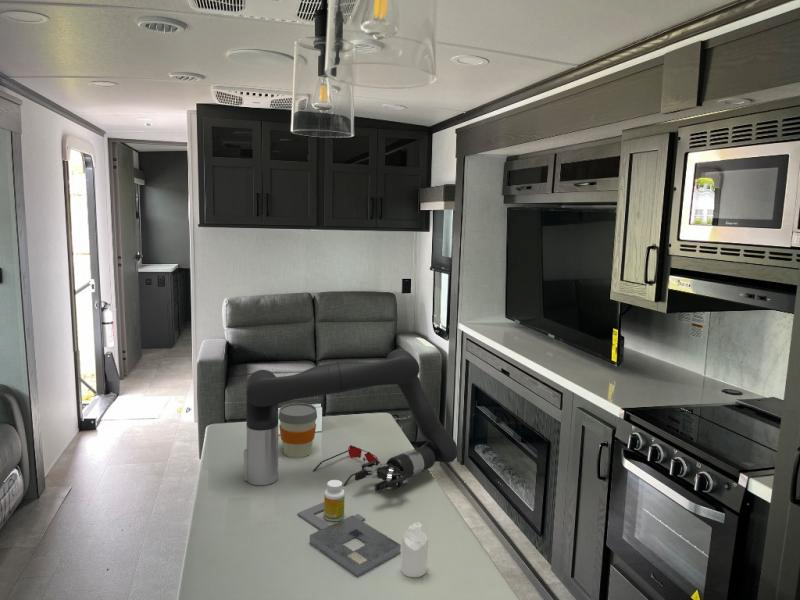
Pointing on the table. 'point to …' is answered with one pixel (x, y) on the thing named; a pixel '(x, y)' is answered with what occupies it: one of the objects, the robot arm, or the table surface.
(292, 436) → the reusable coffee cup
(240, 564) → the table surface
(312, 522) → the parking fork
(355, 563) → the socket block
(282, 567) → the table surface
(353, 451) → the glasses
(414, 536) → the white plastic bottle
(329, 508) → the supplement bottle
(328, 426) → the table surface
